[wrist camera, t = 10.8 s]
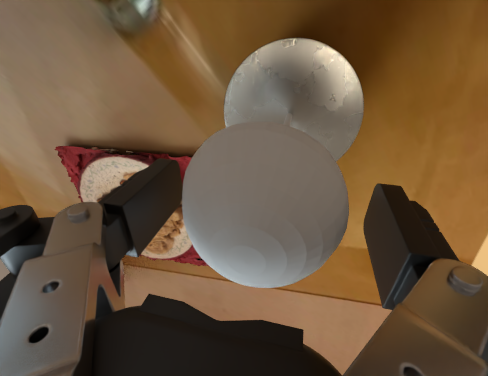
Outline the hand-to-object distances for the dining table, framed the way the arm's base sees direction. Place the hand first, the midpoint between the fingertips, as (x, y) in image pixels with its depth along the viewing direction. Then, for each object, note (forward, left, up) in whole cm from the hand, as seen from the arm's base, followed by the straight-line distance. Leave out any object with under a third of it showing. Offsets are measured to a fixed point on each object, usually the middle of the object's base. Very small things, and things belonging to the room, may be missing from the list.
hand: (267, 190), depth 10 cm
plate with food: (+28, -17, -23) cm, 40 cm away
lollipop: (0, 0, -11) cm, 11 cm away
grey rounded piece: (0, 0, -23) cm, 23 cm away
